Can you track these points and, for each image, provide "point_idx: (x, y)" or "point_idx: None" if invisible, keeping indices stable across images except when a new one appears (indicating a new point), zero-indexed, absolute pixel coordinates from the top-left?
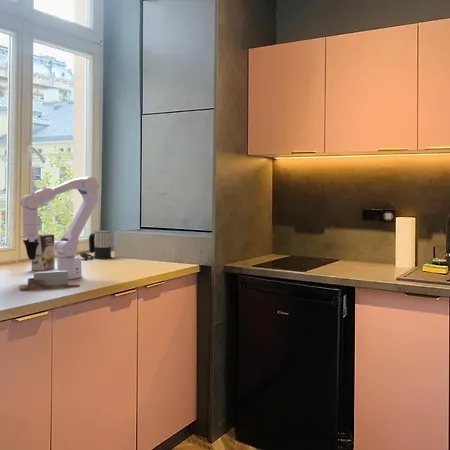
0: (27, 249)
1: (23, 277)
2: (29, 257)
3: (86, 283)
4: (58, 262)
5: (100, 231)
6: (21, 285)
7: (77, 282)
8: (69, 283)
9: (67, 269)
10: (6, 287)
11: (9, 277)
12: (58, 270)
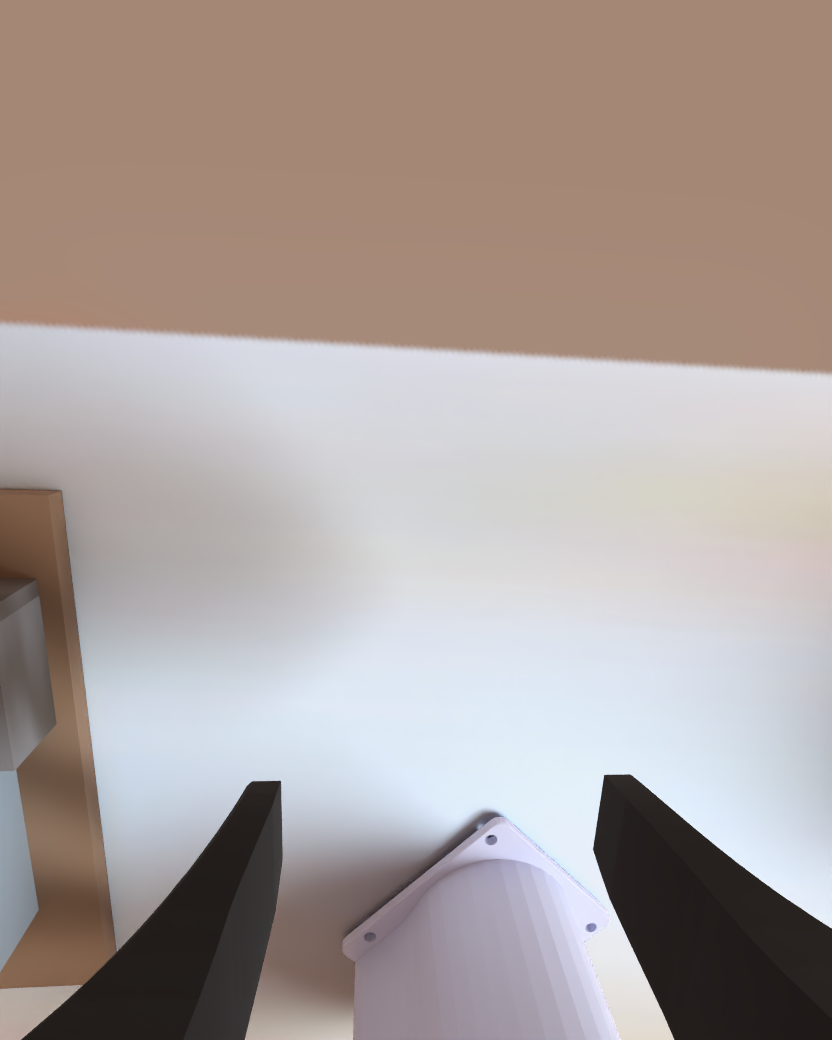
0: (116, 960)
1: (706, 566)
2: (234, 815)
3: None
4: (494, 1031)
5: None
6: (16, 513)
7: (47, 985)
8: None
9: (398, 1016)
10: (99, 352)
11: (790, 427)
12: (475, 928)
